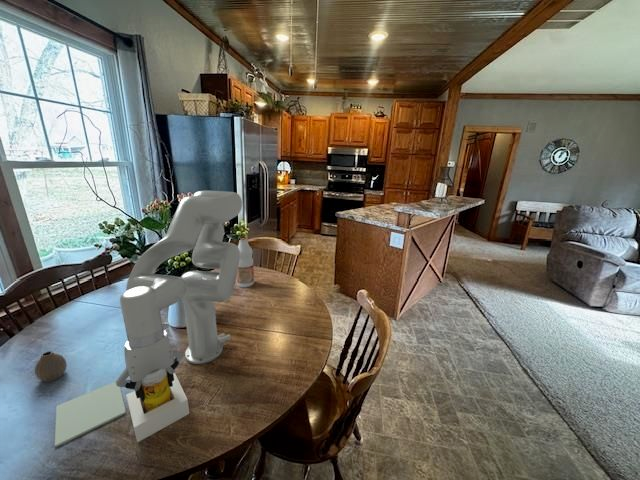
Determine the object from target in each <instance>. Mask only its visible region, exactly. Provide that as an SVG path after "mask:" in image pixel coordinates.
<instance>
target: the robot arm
mask: <svg viewBox="0 0 640 480" xmlns="http://www.w3.org/2000/svg"><path fill="white" fill-rule="evenodd" d="M242 208H243V200H242V197H241V196H240V194H239V193H237V192H234V191H223V190H209V189H208V190H198V191H196V192H195V193H194V194H193V195H190V196H189V195H188V196H185V197H183V198H182V199H181V200H180V201H179V203H178V205H177V208H176V211H175V213H174V215H173V217H172V220H171V222H170V224H169V227H168V229H167V231H166V233H165V235H164V237H163V238H161V240H159V241H157V242H156V243H154V244H153V245H152V246H150V247H149V248H148V249H146V251H145V252H143V253H142V254H141V255H140V256H139V258H138V259H136V262H135V263H134V266H133V267H132V270H131V272H130V274H129V277H128V279H127V283H126V286H125V288H126V289H125V291H124V292H123V293H122V294H121V295H120V298H119V304H120V310H121V314H122V319H123V323H124V328H125V332H126V337H127V341H126V342H125V344H124V360H125V361H124V362H125V369H124V371H123V372H122V373H121V374H120V376H119V377H118V378H117V379H116V380H115V382H116V385H117V386H118V387H120V388H125V389H128V390H133V391H135V393H136V397H137V399H138V398H141V401H142V402H143V401H144V400H145V398H144V393H143V388H142V386H141V383H142V379H144V378H146V376H147V374H151V373H153V372H155V371H158V370H159V369H160V368H161V369H166V370H167V376H168V382H169V386H170V387H172V386H173V383H172V381H174V375H173V374H174V373H175V370H176V369H177V367H178V366H179V364H180V362H181V361H182V360H183V358H185V360H186V361H187V362H188V363H191V364H193V365H202V364H206V363H210V362H212V361H215V360H216V359H217V358H218V357H219V356H220V355H221V354H222V352H223V347H224V345H223V343H224V342H227V341H229V340H232V339H231V338H232V336H231V335H230V334H227V335H226V334H225V332H223V333H220V334H219V335H218V330H217V329H218V328H217V318H216V316H217V315H216V307H215V303H214V302H216V303H225V302H227V301H229V300H230V299H231V297H232V295H233V293H234V289H235V286H236V285H235V284H236V282H237V280H236V276H237V271H238V267H239V262H240V251H239V248H238V245H237V244H235V243H232V242H227V241H223V240H224V235H225V228H224V225H223V224H225V223H227V222H229V221H230V220H232V219H233V218H236V217H237V216H238V215H239V214H240V212H241V211H242ZM192 250H193V251H192ZM189 251H192V255H191V262H192V264H193V265H194V266H195V267H197V268H203V269H213V270H219V272H215V271H207V270H206V271H203V270H189V271H187V272H184V273H183V274H182V275H181V276H177V275H176V276H175V275H168V274H165V275H164V274H157V273H155V272H156V270H157V268H159V266H160V265H161V264H162V263H163V262H166V261H167V260H169V259H171V258H173V257H175V256H178V255H181V254H184V253H187V252H189ZM180 300H181V301H182V304H183V309H184V315H185V325H186V332H187V343H188V347H187V348H186V349H185V352H184V353H183V352H182V351H179V350H176V349H173V348H172V344H171V340H170V337H169V335H168V333H167V331H166V329H169V328H170V325H169V322H163V320H162V314H161V311H162V310H164V309H166V308H169V307H171V306H172V305H174V304H176V303H178V302H179V301H180ZM128 378H129V379H128Z"/></svg>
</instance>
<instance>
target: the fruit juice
mask: <svg viewBox="0 0 640 480" xmlns="http://www.w3.org/2000/svg"><path fill="white" fill-rule="evenodd" d="M238 240H239V239H238ZM248 241H249V236H248V235H246V237H245V238H244V239H242V240H239V241H238V245H237V247H238V248H239V251H240V262H239V267H238V271H237V276H236V286H237V287H239V288H249V287H252V286H253V285H254V283H255V276H254V274H255V271H254V258H253V253H254V251H253V249H252V247H251V246H250V244H249V242H248Z"/></svg>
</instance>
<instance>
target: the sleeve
mask: <svg viewBox="0 0 640 480" xmlns="http://www.w3.org/2000/svg"><path fill="white" fill-rule="evenodd" d="M173 375H174V381H172V383H173V386H172V387H170V386H169V388H170V394H171V401H169V402H167V403H165V404H163V405H161V406H159V407H157V408H155V409H153V410H151V411H149V412H145V413H144V409H146V408H145V403H144V401H143V402H142V401H141V398H138V399H137V397H136V393H135V391H134V390H133V391H132V392H128V393H126V395H125V396H126V400H127V406H128V409H129V414H130V417H131V421H132V426H133V429H134V434H135V439H136V442H137V443H139V442H141V441H143V440H144V439H146V438H148V437H151V436H152V435H154V434H155V433H157V432H159V431H160V430H163V429H164V428H166V427H168V426H169V425H172V424H173V423H175V422H177V421H179V420H180V419H182V418H185V417H186V416H188V415H189V414H190V409H189V407H190V406H189V400H188V397H187V396H186V394H185V391H184V390H183V386H182V385H181V382H180V381H179V379H178V376H177V375H176V373H175V372H174V373H173Z"/></svg>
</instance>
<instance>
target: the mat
mask: <svg viewBox="0 0 640 480" xmlns="http://www.w3.org/2000/svg"><path fill="white" fill-rule="evenodd" d="M124 403H125V402H124V398H123V393H122V388H121V387H118V386H117V385H116V381H114V382H110V383H109V384H106V385H104V386H101V387H98V388H96V389H94V390H92V391H89V392H87V393H85V394H82V395H79V396H77V397H75V398H72V399H70V400H68V401H65V402H63V403H61V404H58V405H56V406H55V408H56V409H55V428H54V429H55V432H54V433H55V434H54V448H57V447H59V446H62V445H64V444H65V443H67V442H70V441H72V440H73V439H77V438H78V437H80V436H82V435H84V434H86V433H88V432H90V431H92V430H95V429H96V428H99V427H101V426H102V425H105V424H107V423H109V422H112V421H114V420H115V419H118V418H119V417H122V416H123V415H125V414H126V408H125V404H124Z"/></svg>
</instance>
